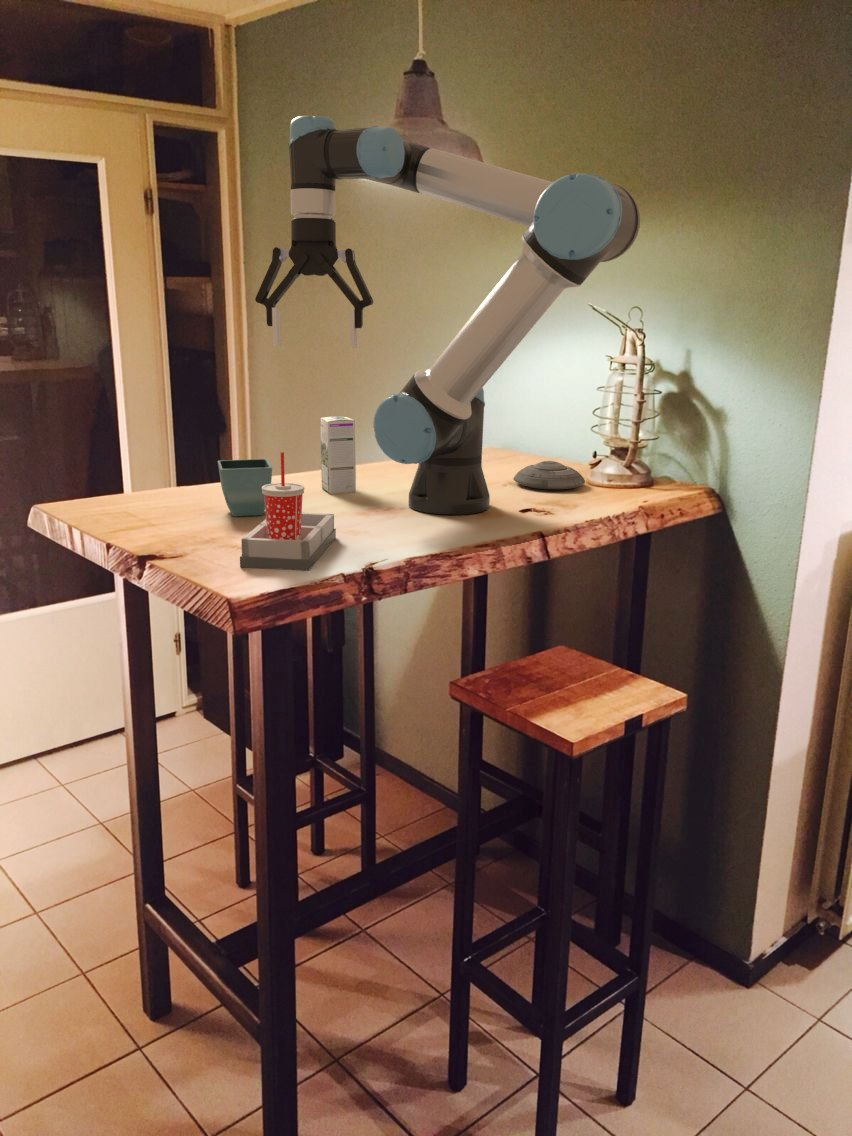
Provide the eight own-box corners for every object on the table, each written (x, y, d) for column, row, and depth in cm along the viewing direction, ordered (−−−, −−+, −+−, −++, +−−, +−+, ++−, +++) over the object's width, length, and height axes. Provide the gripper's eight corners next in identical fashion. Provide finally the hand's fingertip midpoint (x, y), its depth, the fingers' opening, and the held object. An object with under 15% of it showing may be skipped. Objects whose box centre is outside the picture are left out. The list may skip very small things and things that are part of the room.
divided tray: (335, 537, 150) (335, 513, 149) (308, 570, 132) (308, 543, 131) (275, 534, 151) (274, 510, 150) (240, 567, 133) (239, 539, 132)
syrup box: (356, 492, 185) (356, 419, 181) (327, 494, 183) (327, 420, 179) (348, 487, 190) (348, 415, 186) (320, 488, 188) (319, 416, 184)
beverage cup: (286, 539, 142) (284, 447, 138) (314, 546, 138) (312, 452, 134) (254, 546, 137) (251, 452, 133) (282, 554, 133) (279, 457, 129)
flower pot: (222, 520, 161) (220, 468, 158) (219, 509, 169) (217, 459, 166) (273, 518, 163) (272, 467, 160) (268, 507, 171) (267, 458, 168)
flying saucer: (594, 484, 200) (595, 459, 198) (570, 496, 187) (572, 469, 186) (528, 477, 207) (529, 452, 205) (501, 488, 194) (503, 462, 192)
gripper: (389, 220, 161) (388, 347, 166) (247, 218, 163) (251, 344, 169) (383, 217, 153) (382, 349, 159) (234, 215, 155) (239, 346, 161)
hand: (315, 347), depth 164 cm, fingers open, 13 cm apart
